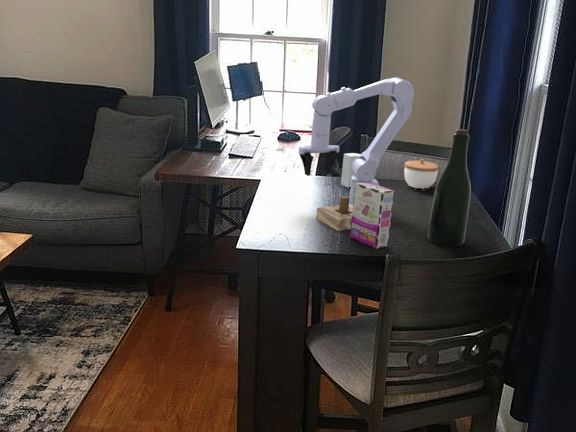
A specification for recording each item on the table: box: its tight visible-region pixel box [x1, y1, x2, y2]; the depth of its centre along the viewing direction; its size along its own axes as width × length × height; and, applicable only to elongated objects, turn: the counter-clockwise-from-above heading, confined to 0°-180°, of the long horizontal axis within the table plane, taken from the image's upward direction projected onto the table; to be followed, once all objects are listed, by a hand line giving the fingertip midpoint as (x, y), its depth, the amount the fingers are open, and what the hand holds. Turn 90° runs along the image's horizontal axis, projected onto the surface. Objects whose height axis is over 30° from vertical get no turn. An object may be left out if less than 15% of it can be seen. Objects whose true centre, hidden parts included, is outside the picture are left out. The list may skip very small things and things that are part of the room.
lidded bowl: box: [403, 158, 440, 189], centre depth 241 cm, size 13×13×11 cm
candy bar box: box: [349, 182, 395, 250], centre depth 178 cm, size 11×5×16 cm, turn 37°
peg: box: [338, 195, 350, 215], centre depth 195 cm, size 3×3×8 cm
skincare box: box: [340, 152, 361, 189], centre depth 237 cm, size 6×4×12 cm
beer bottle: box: [427, 128, 472, 248], centre depth 180 cm, size 10×10×33 cm
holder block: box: [315, 204, 353, 232], centre depth 196 cm, size 12×12×4 cm
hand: (317, 174), depth 209 cm, fingers open, 7 cm apart
